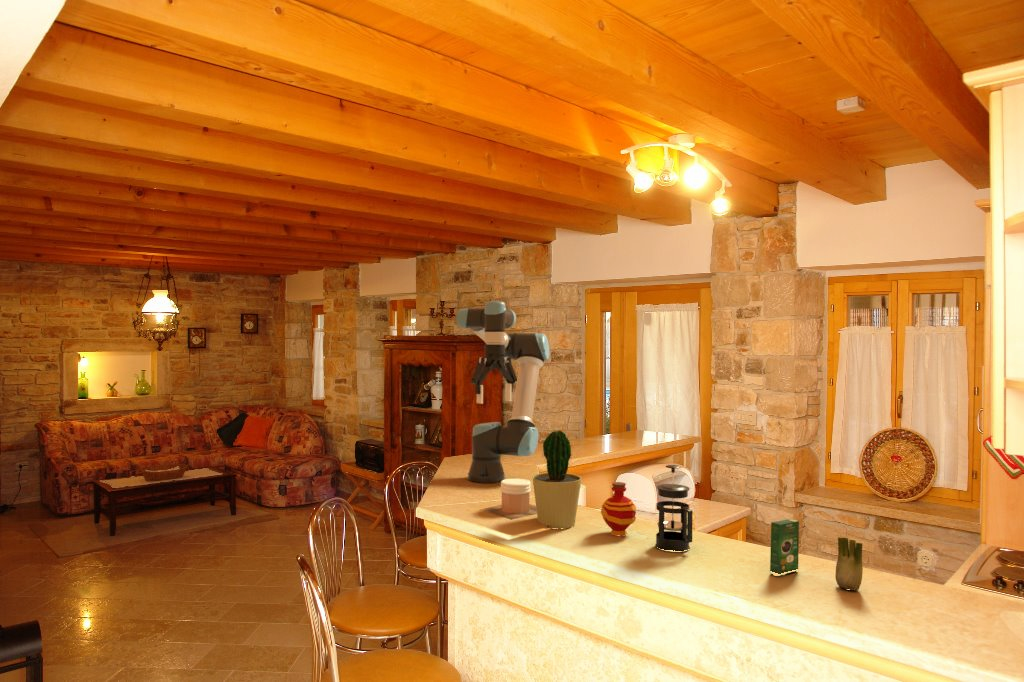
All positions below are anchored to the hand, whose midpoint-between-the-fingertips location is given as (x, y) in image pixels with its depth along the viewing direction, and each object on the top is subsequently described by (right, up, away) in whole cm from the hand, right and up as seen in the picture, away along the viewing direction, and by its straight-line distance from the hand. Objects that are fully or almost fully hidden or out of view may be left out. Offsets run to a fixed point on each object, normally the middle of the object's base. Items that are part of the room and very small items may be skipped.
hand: (494, 402), depth 248 cm
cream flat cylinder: (+8, -28, -22) cm, 36 cm away
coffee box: (+75, -36, -78) cm, 114 cm away
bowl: (+8, -34, -22) cm, 41 cm away
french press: (+52, -36, -58) cm, 85 cm away
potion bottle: (+38, -35, -45) cm, 69 cm away
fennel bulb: (+85, -36, -88) cm, 128 cm away
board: (+8, -35, -22) cm, 42 cm away
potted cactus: (+20, -35, -35) cm, 54 cm away
